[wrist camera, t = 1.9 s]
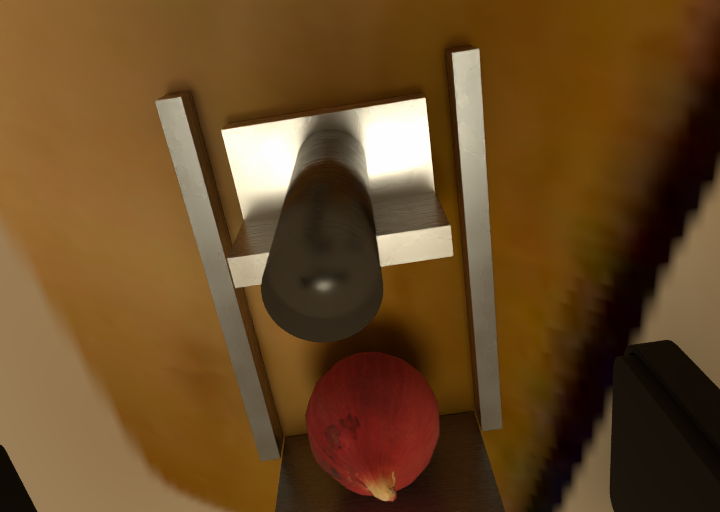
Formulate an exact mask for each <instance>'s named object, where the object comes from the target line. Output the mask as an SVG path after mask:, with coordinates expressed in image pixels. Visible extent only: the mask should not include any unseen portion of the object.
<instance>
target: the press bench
mask: <svg viewBox="0 0 720 512" xmlns="http://www.w3.org/2000/svg"><path fill="white" fill-rule="evenodd" d="M445 51H446V63H447V75H448V86H449V98H450V110H451V122H452V134H453V146H454V158H455V170H456V182H457V194H458V206H459V217H460V229H461V241H462V253H463V265H464V277H465V289H466V301H467V313H468V325H469V337H470V349H471V360H472V372H473V384H474V396H475V408H476V414H477V417H478V420H479V423H480V426H481V429H482V431H487V430H494V429H502V418H501V401H500V385H499V368H498V352H497V335H496V319H495V302H494V286H493V269H492V253H491V236H490V220H489V203H488V187H487V171H486V154H485V138H484V121H483V105H482V88H481V72H480V55H479V49H478V48H476V47H474V46H471V45H470V46H464V47H458V48H452V49H445ZM155 103H156V107H157V110H158V114H159V117H160V120H161V124H162V127H163V130H164V134H165V137H166V141H167V144H168V147H169V151H170V154H171V158H172V161H173V164H174V168H175V171H176V175H177V178H178V181H179V185H180V188H181V192H182V195H183V198H184V202H185V205H186V209H187V212H188V215H189V219H190V222H191V226H192V229H193V232H194V236H195V239H196V243H197V246H198V249H199V253H200V256H201V259H202V263H203V266H204V270H205V273H206V276H207V280H208V283H209V287H210V290H211V293H212V297H213V300H214V304H215V307H216V310H217V314H218V317H219V321H220V324H221V327H222V331H223V334H224V338H225V341H226V344H227V348H228V351H229V355H230V358H231V361H232V365H233V368H234V371H235V375H236V378H237V382H238V385H239V388H240V392H241V395H242V399H243V402H244V405H245V409H246V412H247V416H248V419H249V422H250V426H251V429H252V433H253V436H254V439H255V443H256V446H257V450H258V453H259V456H260V460H261V461H265V460H273V459H280V458H281V450H282V443H283V435H282V431H281V427H280V424H279V420H278V416H277V412H276V409H275V405H274V401H273V397H272V394H271V390H270V386H269V382H268V379H267V375H266V371H265V367H264V364H263V360H262V356H261V352H260V349H259V345H258V341H257V338H256V334H255V330H254V326H253V323H252V319H251V315H250V311H249V308H248V304H247V300H246V296H245V293H244V289H243V287H239V288H235V285H234V282H233V278H232V274H231V271H230V267H229V263H228V260H227V258H228V256H229V253H230V251H231V249H232V244H231V240H230V236H229V233H228V229H227V225H226V221H225V218H224V214H223V210H222V206H221V203H220V199H219V195H218V192H217V188H216V184H215V180H214V177H213V173H212V169H211V165H210V162H209V158H208V154H207V150H206V147H205V143H204V139H203V135H202V132H201V128H200V124H199V120H198V117H197V113H196V109H195V105H194V102H193V98H192V94H191V91H185V92H179V93H173V94H167V95H165V96H163V97H161V98H159V99H158V100H156V101H155ZM439 423H440V425H439V437H438V440H437V443H436V446H435V448H434V451H433V454H432V457H431V459H430V462H429V464H428V465H427V467H426V468H425V469H424V470H423V471H422V472H421V474H420V475H419V476H418V477H417V478H416V479H415V480H414V481H413V482H412V483H411V484H410V485H408V486H406V487H404V488H402V489H400V490H398V491H396V493H397V495H396V499H395V500H394V501H386V502H385V501H383V500H379V499H377V498H376V497H375V496H369V495H360V494H358V493H356V492H353V491H351V490H349V489H347V488H346V487H345V486H343V485H342V484H341V483H339V482H338V481H337V480H336V479H335V478H333V477H332V476H331V475H330V474H328V473H327V472H326V471H325V470H324V469H322V467H321V466H320V465H319V464H318V463H317V461H316V460H315V457H314V455H313V453H312V450H311V446H310V441H309V436H308V434H305V435H298V436H291V437H285V442H284V449H283V457H282V464H281V472H280V480H279V487H278V495H277V502H276V510H275V512H505V510H504V507H503V503H502V500H501V497H500V494H499V490H498V487H497V484H496V481H495V478H494V474H493V471H492V468H491V465H490V462H489V458H488V455H487V452H486V449H485V446H484V442H483V439H482V436H481V433H480V430H479V426H478V423H477V420H476V417H475V414H474V412H466V413H459V414H452V415H444V416H439Z"/></svg>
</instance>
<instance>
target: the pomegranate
mask: <svg viewBox="0 0 720 512" xmlns="http://www.w3.org/2000/svg"><path fill="white" fill-rule="evenodd" d="M305 416H306V424H307V431H308V436H309V441H310V446H311V450H312V453H313V455H314V457H315V460H316V461H317V463H318V464H319V465H320V466H321V467H322V469H324V470H325V471H326V472H327V473H328V474H330V475H331V476H332V477H333V478H335V479H336V480H337V481H338V482H339V483H341V484H342V485H343V486H345V487H346V488H347V489H349V490H351V491H353V492H356V493H358V494H360V495H369V496H375V497H376V498H377V499H379V500H383V501H385V502H386V501H394V500H395V499H396V495H397V493H396V491H398V490H400V489H402V488H404V487H406V486H408V485H410V484H411V483H412V482H413V481H414V480H415V479H416V478H417V477H418V476H419V475H420V474H421V472H422V471H423V470H424V469H425V468H426V467H427V465H428V464H429V462H430V459H431V457H432V454H433V451H434V448H435V446H436V443H437V440H438V437H439V425H440V423H439V413H438V403H437V400H436V398H435V396H434V394H433V391H432V390H431V388H430V387H429V385H428V383H427V382H426V380H425V378H424V377H423V375H422V373H421V372H419V371H418V370H416V369H415V368H414V367H412V366H411V365H410V364H408V363H407V362H405V361H404V360H403V359H401V358H398V357H395V356H391V355H388V354H384V353H381V352H361V353H356V354H353V355H351V356H349V357H346V358H344V359H342V360H339V361H338V362H337V363H336V364H335V365H334V366H333V367H332V368H331V369H330V370H328V371H327V372H326V373H325V374H324V375H323V376H322V377H321V378H320V379H319V380H318V381H317V383H316V385H315V388H314V390H313V393H312V395H311V398H310V401H309V404H308V407H307V411H306V414H305Z"/></svg>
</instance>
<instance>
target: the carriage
mask: <svg viewBox="0 0 720 512" xmlns="http://www.w3.org/2000/svg"><path fill="white" fill-rule="evenodd" d="M221 131H222V135H223V139H224V143H225V147H226V151H227V155H228V159H229V163H230V167H231V171H232V175H233V179H234V183H235V187H236V191H237V195H238V199H239V203H240V207H241V211H242V215H243V218H244V221H243V224H242V226H241V228H240V231H239V233H238V235H237V237H236V240H235V242H234V244H233V247H232V249H231V251H230V253H229V256H228V258H227V260H228V263H229V267H230V271H231V274H232V278H233V282H234V285H235V288H239V287H246V286H253V285H260V284H261V293H262V299H263V302H264V305H265V308H266V310H267V312H268V313H269V315H270V316H271V318H272V319H273V320H274V321H275V323H276V324H277V325H279V326H280V327H281V328H282V329H283V330H285V331H286V332H288V333H289V334H291V335H293V336H295V337H298V338H300V339H303V340H307V341H313V342H334V341H339V340H342V339H345V338H348V337H350V336H353V335H355V334H356V333H358V332H359V331H361V330H362V329H363V328H365V327H366V326H367V325H368V324H369V323H370V322H371V321H372V319H373V318H374V317H375V315H376V313H377V312H378V310H379V307H380V305H381V302H382V297H383V281H382V273H381V267H382V266H389V265H395V264H402V263H409V262H416V261H422V260H429V259H436V258H443V257H450V256H453V247H452V236H451V225H450V223H449V221H448V219H447V217H446V214H445V212H444V210H443V208H442V206H441V204H440V201H439V199H438V197H437V195H436V193H435V188H434V178H433V168H432V158H431V149H430V139H429V129H428V119H427V109H426V99H425V97H424V95H423V94H422V93H418V94H411V95H405V96H399V97H392V98H386V99H380V100H374V101H367V102H361V103H355V104H348V105H342V106H336V107H330V108H323V109H317V110H311V111H304V112H298V113H292V114H285V115H279V116H273V117H267V118H260V119H254V120H248V121H241V122H235V123H229V124H226V125H225V126H224V128H223V129H222V130H221Z"/></svg>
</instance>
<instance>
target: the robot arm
mask: <svg viewBox="0 0 720 512" xmlns="http://www.w3.org/2000/svg"><path fill="white" fill-rule="evenodd" d="M610 466H611V467H610V498H611V503H612V507H613V510H614V512H720V389H719V388H718V387H717V386H716V385H715V384H714V383H713V382H712V381H711V380H710V379H709V378H708V377H707V376H706V375H705V374H704V373H703V372H702V371H701V370H700V368H699V367H698V366H697V365H696V364H695V363H694V362H693V361H692V360H691V359H690V358H689V357H688V356H687V355H686V354H685V353H684V352H683V351H682V350H681V349H680V348H679V347H678V346H677V345H676V344H675V343H674V342H672V341H670V340H663V341H656V342H649V343H641V344H634V345H630V346H628V347H627V348H626V350H625V355H624V356H621V357H617V358H616V359H615V361H614V373H613V404H612V435H611V465H610ZM0 512H37V510H36V508H35V506H34V504H33V502H32V500H31V498H30V497H29V495H28V493H27V491H26V489H25V487H24V485H23V483H22V481H21V479H20V477H19V475H18V473H17V472H16V469H15V468H14V466H13V464H12V462H11V460H10V458H9V456H8V454H7V452H6V450H5V449H4V447H3V446H2V445H0Z"/></svg>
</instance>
